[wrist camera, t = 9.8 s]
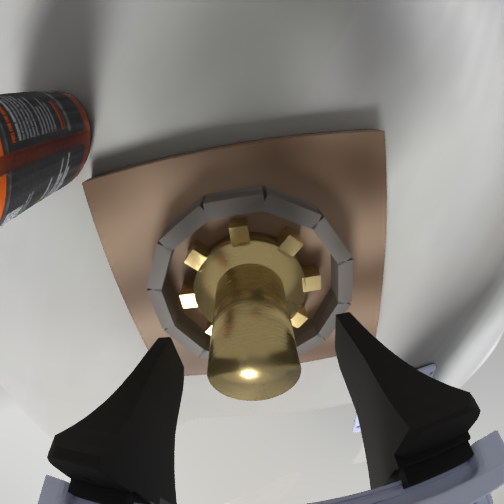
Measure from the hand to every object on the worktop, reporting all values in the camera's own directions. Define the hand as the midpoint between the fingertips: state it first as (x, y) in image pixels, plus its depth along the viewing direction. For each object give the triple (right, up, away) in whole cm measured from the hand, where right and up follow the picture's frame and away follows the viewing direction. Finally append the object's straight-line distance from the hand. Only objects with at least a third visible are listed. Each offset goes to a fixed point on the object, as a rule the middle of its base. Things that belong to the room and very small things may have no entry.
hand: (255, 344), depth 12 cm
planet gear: (0, +2, +4) cm, 5 cm away
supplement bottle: (-12, +11, +1) cm, 16 cm away
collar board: (0, +3, +5) cm, 6 cm away
